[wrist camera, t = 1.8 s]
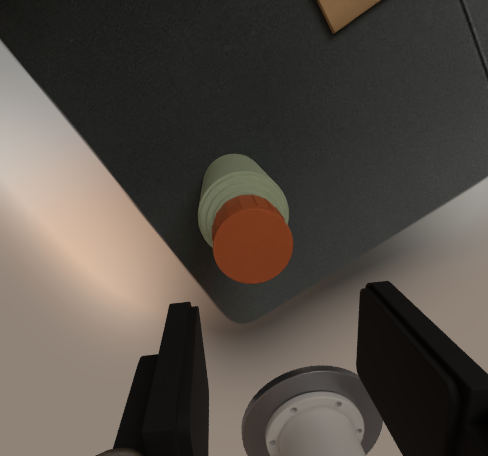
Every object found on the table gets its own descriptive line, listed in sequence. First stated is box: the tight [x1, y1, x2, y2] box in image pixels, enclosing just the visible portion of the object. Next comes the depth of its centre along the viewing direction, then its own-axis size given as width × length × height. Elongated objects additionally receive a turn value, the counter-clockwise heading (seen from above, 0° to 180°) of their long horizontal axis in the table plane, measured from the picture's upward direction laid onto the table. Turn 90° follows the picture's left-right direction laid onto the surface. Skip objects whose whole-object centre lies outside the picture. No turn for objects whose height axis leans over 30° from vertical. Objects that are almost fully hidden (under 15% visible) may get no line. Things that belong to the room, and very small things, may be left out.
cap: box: [212, 194, 293, 284], centre depth 18 cm, size 4×4×3 cm
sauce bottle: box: [198, 154, 289, 248], centre depth 25 cm, size 6×6×16 cm
